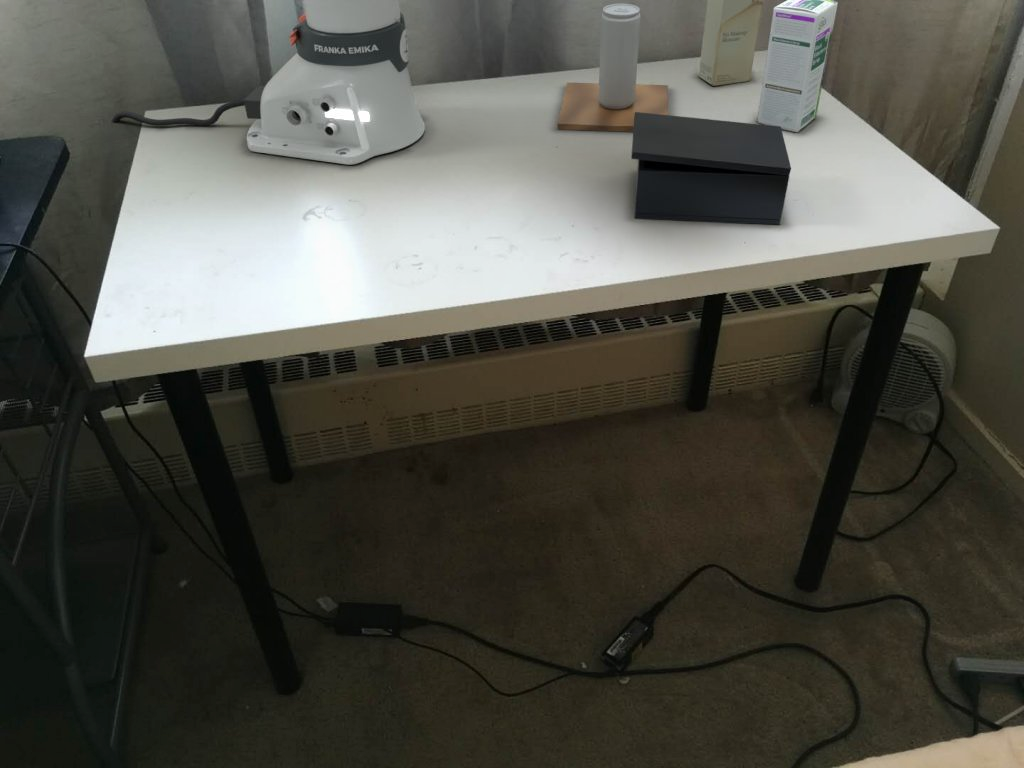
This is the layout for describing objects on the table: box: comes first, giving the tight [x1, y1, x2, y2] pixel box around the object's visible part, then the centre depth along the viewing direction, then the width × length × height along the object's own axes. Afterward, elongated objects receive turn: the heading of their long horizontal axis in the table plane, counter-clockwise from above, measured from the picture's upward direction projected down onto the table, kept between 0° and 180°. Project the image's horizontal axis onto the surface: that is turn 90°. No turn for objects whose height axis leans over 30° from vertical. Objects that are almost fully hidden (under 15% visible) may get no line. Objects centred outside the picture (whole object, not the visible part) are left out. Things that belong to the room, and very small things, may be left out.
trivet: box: [556, 82, 669, 133], centre depth 114 cm, size 14×14×1 cm
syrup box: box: [756, 0, 839, 133], centre depth 106 cm, size 6×6×14 cm
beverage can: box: [598, 3, 641, 109], centre depth 110 cm, size 5×5×12 cm
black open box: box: [634, 160, 790, 226], centre depth 93 cm, size 15×10×6 cm
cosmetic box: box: [698, 0, 764, 87], centre depth 118 cm, size 6×4×12 cm
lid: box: [631, 112, 792, 176], centre depth 91 cm, size 16×10×1 cm, turn 82°
